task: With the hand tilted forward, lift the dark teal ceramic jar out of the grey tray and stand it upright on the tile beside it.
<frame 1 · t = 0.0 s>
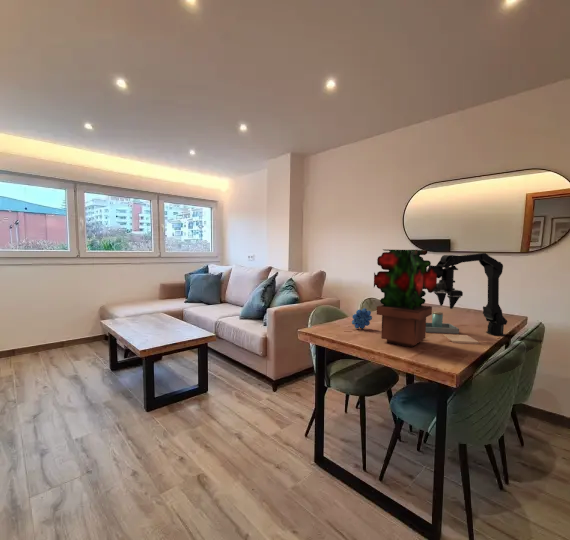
hand: (446, 307, 160), 15 cm above the table, tool pointing down, fingers open, 9 cm apart
tile: (460, 339, 150), on the table
grey tray: (436, 331, 166), on the table
potted plant: (403, 342, 145), on the table
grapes: (361, 328, 170), on the table
jar: (436, 330, 166), point 1 cm above the table, touching grey tray
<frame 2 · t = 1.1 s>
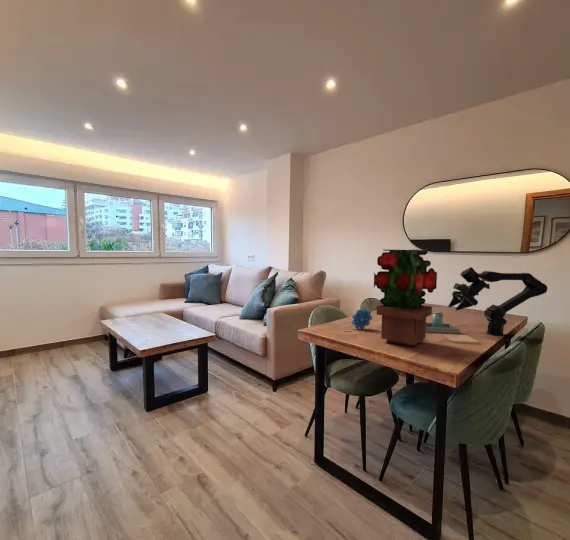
hand: (452, 308, 164), 13 cm above the table, tool tilted 45°, fingers open, 9 cm apart
nothing on the table moved.
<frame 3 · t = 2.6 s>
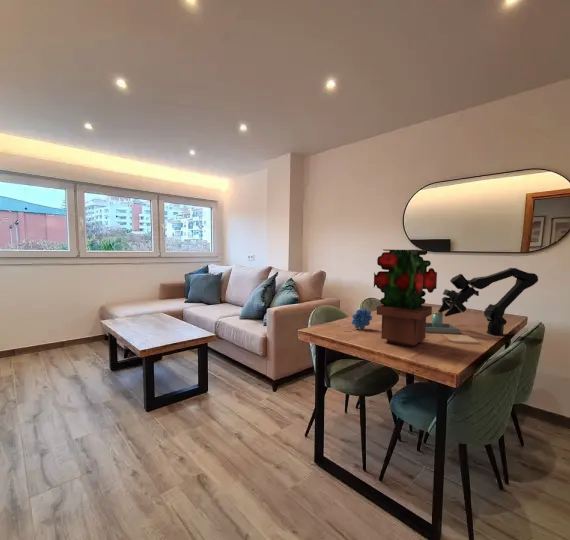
hand: (441, 314, 165), 10 cm above the table, tool tilted 45°, fingers open, 9 cm apart
nothing on the table moved.
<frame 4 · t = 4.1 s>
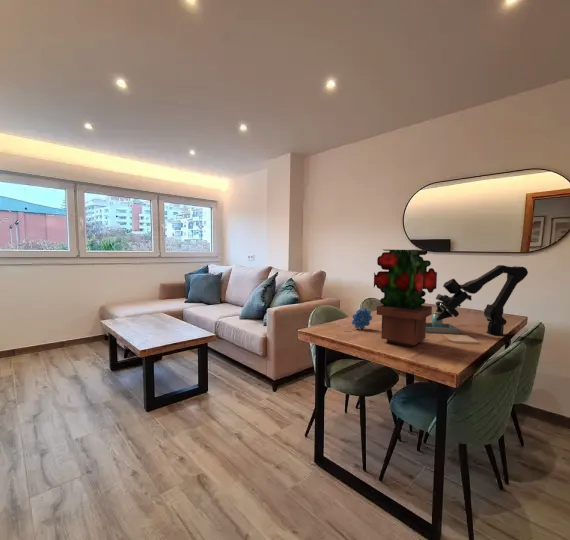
hand: (434, 318, 166), 7 cm above the table, tool tilted 45°, fingers closed on jar, 5 cm apart
jar: (436, 330, 166), point 1 cm above the table, touching gripper, grey tray
everything else where it was.
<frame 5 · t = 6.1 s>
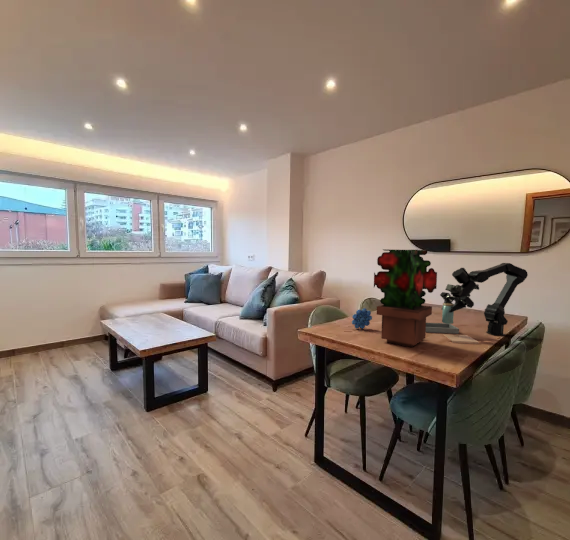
hand: (445, 310, 156), 13 cm above the table, tool tilted 45°, fingers closed on jar, 5 cm apart
jar: (447, 322, 157), point 7 cm above the table, touching gripper
everything else where it was.
when the fingers open (9 cm above the table, at t = 8.2 s): jar drops 1 cm, resting on tile.
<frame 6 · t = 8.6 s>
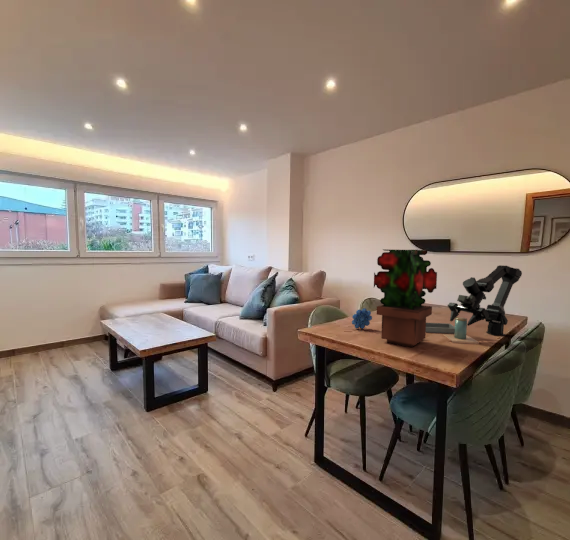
hand: (459, 322, 149), 9 cm above the table, tool tilted 45°, fingers open, 9 cm apart
jar: (460, 337, 150), point 1 cm above the table, touching tile
everything else where it was.
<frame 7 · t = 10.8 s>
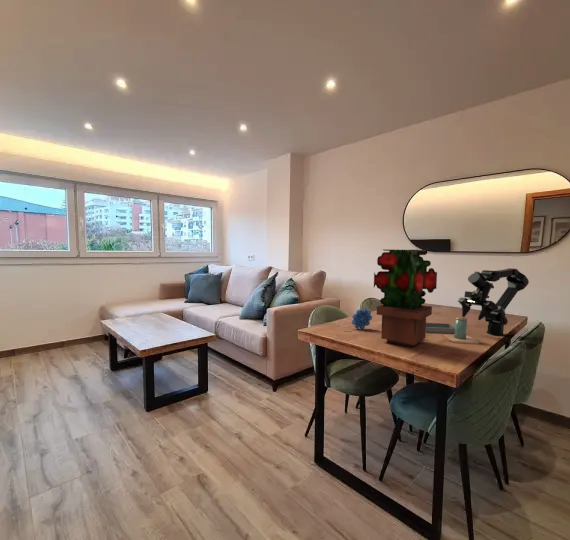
hand: (470, 318, 154), 10 cm above the table, tool tilted 30°, fingers open, 9 cm apart
nothing on the table moved.
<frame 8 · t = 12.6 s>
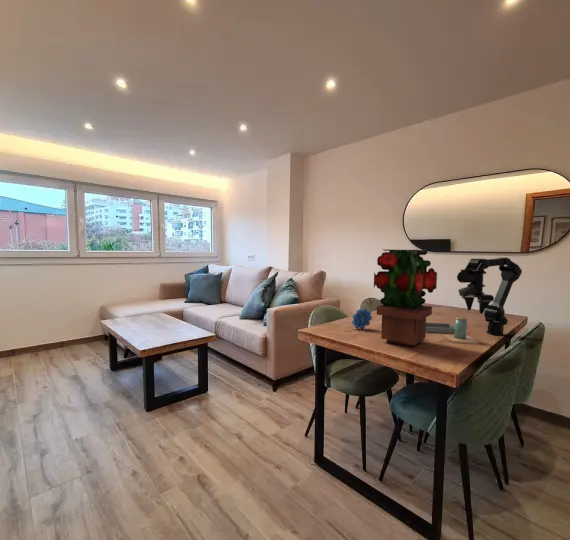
hand: (474, 311, 157), 13 cm above the table, tool pointing down, fingers open, 9 cm apart
nothing on the table moved.
at the end: jar inside the target area on the tile (0.0 cm from its centre), point 1.0 cm above the tile's base; jar tilted 0°; the gripper is holding nothing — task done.
